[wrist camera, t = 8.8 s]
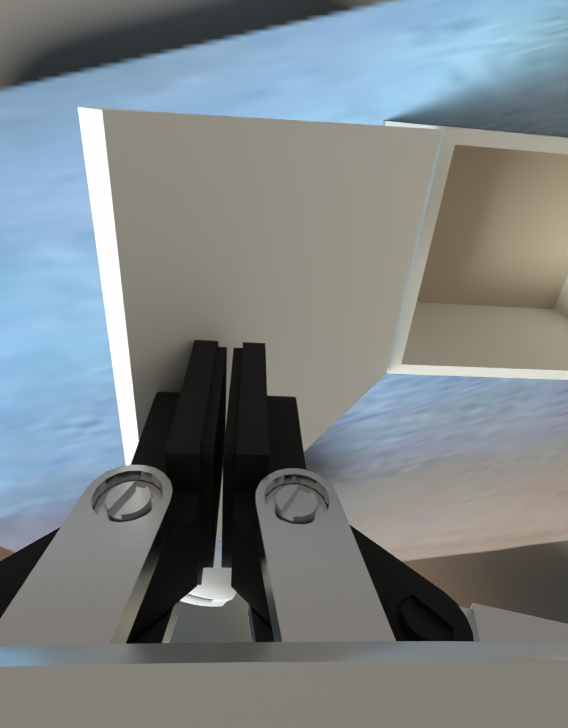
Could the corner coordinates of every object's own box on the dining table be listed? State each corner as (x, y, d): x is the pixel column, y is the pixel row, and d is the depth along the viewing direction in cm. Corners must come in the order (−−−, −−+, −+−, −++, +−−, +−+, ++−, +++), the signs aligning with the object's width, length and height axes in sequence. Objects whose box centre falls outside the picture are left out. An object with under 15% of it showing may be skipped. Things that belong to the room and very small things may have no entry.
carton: (624, 142, 28) (786, 158, 20) (553, 313, 34) (654, 382, 26) (383, 120, 27) (445, 127, 18) (352, 303, 33) (388, 373, 24)
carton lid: (102, 110, 6) (77, 106, 7) (155, 594, 12) (141, 581, 13) (441, 129, 18) (427, 128, 18) (386, 373, 24) (376, 369, 24)
